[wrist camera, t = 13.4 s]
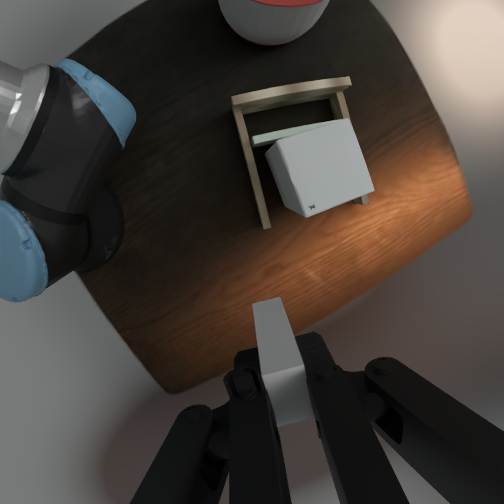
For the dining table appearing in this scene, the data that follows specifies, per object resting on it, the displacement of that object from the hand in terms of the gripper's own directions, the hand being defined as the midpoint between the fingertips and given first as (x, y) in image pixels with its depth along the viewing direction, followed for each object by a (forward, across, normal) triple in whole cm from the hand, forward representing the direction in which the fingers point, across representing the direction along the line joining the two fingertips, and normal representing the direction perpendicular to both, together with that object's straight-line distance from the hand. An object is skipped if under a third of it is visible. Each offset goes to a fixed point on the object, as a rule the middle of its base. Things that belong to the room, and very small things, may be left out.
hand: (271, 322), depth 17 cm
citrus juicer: (+33, +11, +34) cm, 48 cm away
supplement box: (+33, +10, +7) cm, 35 cm away
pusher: (+32, +10, +12) cm, 36 cm away
